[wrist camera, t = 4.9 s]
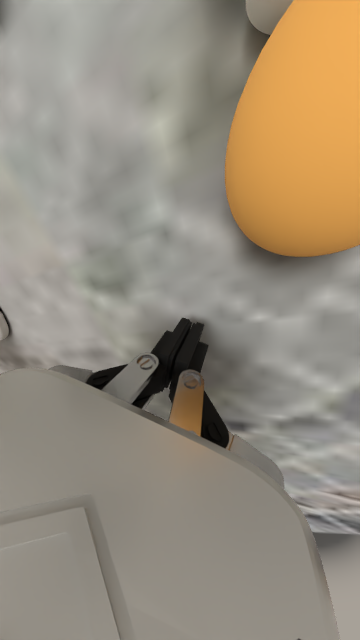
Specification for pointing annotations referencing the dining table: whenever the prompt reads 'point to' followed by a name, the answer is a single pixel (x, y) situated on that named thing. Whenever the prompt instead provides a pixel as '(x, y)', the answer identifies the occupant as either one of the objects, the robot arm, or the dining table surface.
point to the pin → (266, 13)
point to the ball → (300, 135)
